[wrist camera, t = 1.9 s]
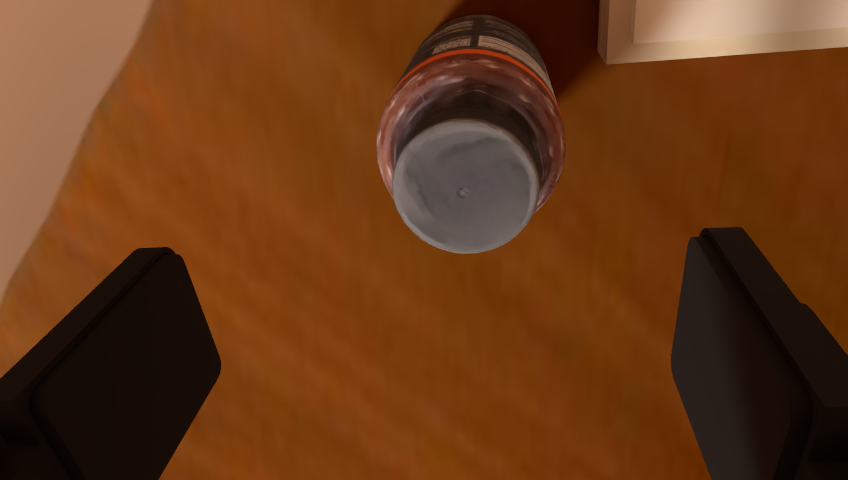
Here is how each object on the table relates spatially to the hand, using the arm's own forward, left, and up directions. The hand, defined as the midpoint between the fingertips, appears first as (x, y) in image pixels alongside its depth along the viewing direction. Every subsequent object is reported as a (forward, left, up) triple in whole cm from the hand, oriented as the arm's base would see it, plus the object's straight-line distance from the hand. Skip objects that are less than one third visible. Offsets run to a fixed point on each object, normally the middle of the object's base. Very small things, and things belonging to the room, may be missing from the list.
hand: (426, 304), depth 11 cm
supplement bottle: (0, 0, -17) cm, 17 cm away
